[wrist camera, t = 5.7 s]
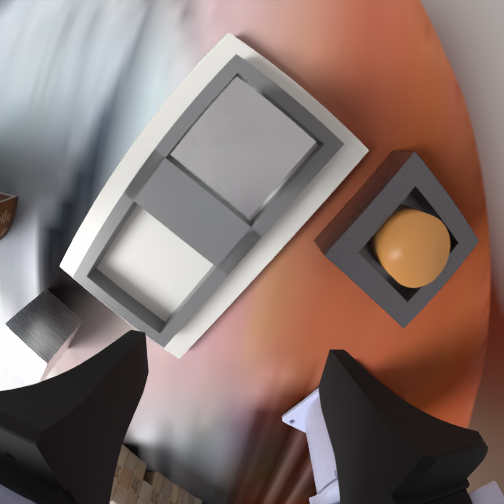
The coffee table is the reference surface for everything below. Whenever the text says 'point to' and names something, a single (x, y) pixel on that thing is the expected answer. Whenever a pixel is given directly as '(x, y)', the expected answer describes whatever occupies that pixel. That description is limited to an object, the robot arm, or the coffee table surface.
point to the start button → (411, 246)
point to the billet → (38, 337)
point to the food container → (7, 212)
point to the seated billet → (243, 146)
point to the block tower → (144, 484)
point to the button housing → (374, 216)
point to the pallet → (164, 249)
